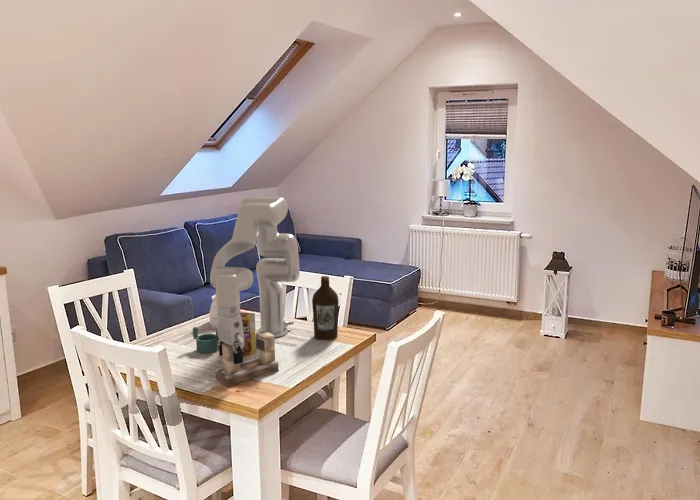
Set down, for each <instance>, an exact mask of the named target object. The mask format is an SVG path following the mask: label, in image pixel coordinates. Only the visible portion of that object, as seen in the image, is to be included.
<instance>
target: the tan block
mask: <svg viewBox="0 0 700 500" xmlns="http://www.w3.org/2000/svg"><path fill="white" fill-rule="evenodd" d="M235 343H236V342H235ZM237 347H238V345H237V346H236V349H237ZM233 353H234V350H233V347H232V346H230V345H228V344H226V343H222V354H223V356H222V368H223V372H225V373H226V374H228V375H230V374H233V373H237V372H240V364H236V365H235V364H234V360H233Z"/></svg>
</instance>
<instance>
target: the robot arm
mask: <svg viewBox="0 0 700 500" xmlns="http://www.w3.org/2000/svg"><path fill="white" fill-rule="evenodd" d="M288 209H289V208H288V202H287V201H286V199H285V198H284V197H282V196H281V197H280V196H247V197H244V198H243V199H242V201H241V206H240V207H239V208H238V212H237V216H236V220H235V225H234V229H233V231H232V236H231V239H230V240H229V241H228V242H227V243H225V244H224V245H223V246H222V247H221V248H220V249H219V250H218V251H217V252H216V254H215V256H214V258H213V262H212V265H211V270H210V275H209V277H210V278H209V281H210V285H211V286H212V287H213V288H215V294H216V300H217V316H218V327H217V328H218V329H216V328H215V333H216V332H217V338H218V340H219V341H218V344H219V350H218V353H219V354H218V355H219V356H220V357H223V354H222V343H226V344H228V345H230V346H232V347H233V350H234V353H233V360H234V364H235V365H236V364H239V363H242V362H244V353H243V349H244V344H245V342H244V332H243V324H242V319H241V315H240V312H241V300H240V299H241V298H240V297H241V296H240V294H241V293H240V292H243V291H245V290H248V289H249V288H250V287H251V286H252V284H253V283H254V273H253V272H252V270H251V269H249V268H247V267H235V266H226V264H227V263H228V262H229V261H230V260H231V259H232V258H234V257H236V256H238V255H240V254H243V253H245V252H247V251H250V250H253V249H254V248H255V246H257V251H258V252H257V253H258V254H259V255H260V256H261V257H265V258H261V259H260V260H258V262H257V263H256V266H255V271H256V276H257V277H256V278H257V281H258V289H259V290H258V291H259V313H260V314H259V315H260V317H259V318H260V327H259V328H258V329H257V331H256V334H257V336H258V335H260V334H263V333H267V332H269V333H271V334H273V335H274V338H279V337H284V336H285V335H286V334H288V326H293V325H294V324H295V323H294V320H293V319H291V320H287V319H284V292H283V288H282V286H281V285H280V283H294V282H297V280H299V278H300V271H301V270H300V257H299V247H298V242H297V238H296V236H294V235H293V234H291V233H279V232H278V225H279V224H280V223H281V222H282V221H284V219H285V218H286V216H287V215H288ZM235 342H238V343H235ZM237 345H238V347H237V349H236V346H237Z"/></svg>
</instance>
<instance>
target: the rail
mask: <svg viewBox="0 0 700 500" xmlns="http://www.w3.org/2000/svg"><path fill="white" fill-rule="evenodd" d="M257 336H258V339H257V338H256V350H258V357H256V358H252V359H249V360H246V361H245V360H243V362H242V363H239V364H240V372H237V373H233V374H230V375H228V374H226V373H225V372H223V367H219V368H216V369H215V371H214V374H215V380H216V381H219V382H220V384H222V385H225V386H226V387H230V386H234V385H237V384H241V383H243V382H245V381H249V380H253V379H256V378H259V377H262V376H266V375H270V374H272V373H276V372H279V369H280V368H279V361H277V360H276V352H275V351H276V348H275V347H276V346H275V345H276V343H275V337H274V335H273V334H271V333H269V332H267V333H263V334H260V335H258V334H257Z"/></svg>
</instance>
